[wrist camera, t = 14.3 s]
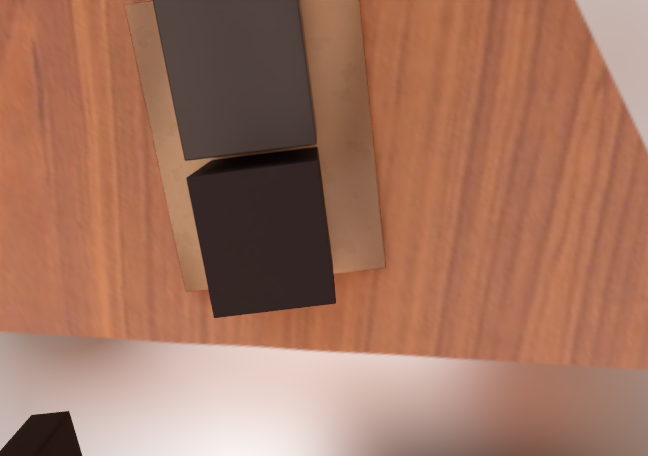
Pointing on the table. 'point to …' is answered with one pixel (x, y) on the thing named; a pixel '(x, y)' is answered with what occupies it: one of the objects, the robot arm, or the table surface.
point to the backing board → (331, 143)
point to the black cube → (263, 232)
